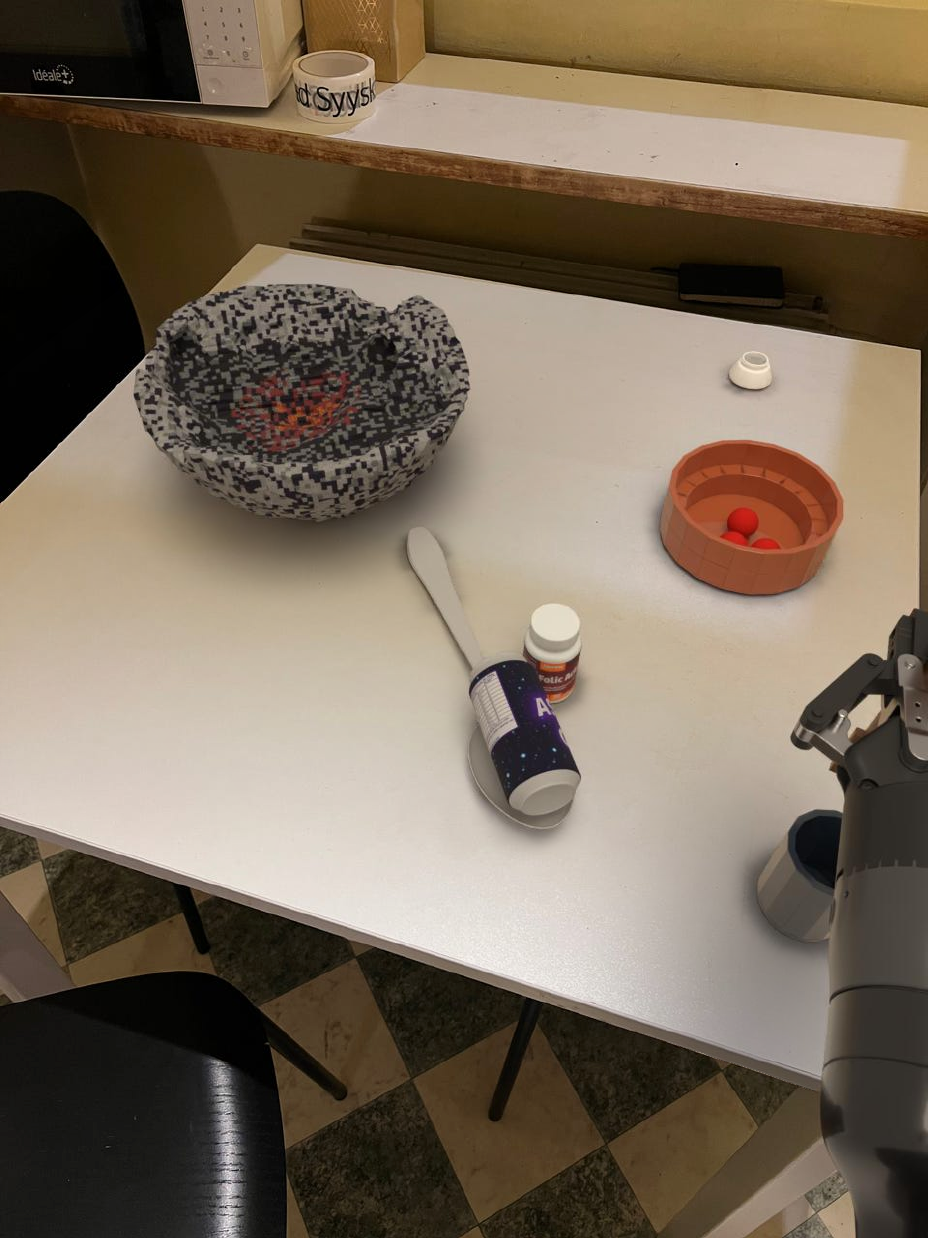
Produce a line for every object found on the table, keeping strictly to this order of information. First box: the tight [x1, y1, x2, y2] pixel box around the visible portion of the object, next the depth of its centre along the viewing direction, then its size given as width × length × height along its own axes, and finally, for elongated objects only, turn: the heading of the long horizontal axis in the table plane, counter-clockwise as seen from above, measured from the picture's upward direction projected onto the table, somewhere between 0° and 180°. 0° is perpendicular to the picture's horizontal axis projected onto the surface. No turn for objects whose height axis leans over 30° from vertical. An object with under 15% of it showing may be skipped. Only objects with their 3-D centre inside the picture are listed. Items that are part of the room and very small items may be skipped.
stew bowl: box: [658, 439, 844, 596], centre depth 85 cm, size 16×16×6 cm
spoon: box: [406, 526, 576, 830], centre depth 76 cm, size 35×8×3 cm, turn 19°
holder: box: [756, 808, 843, 943], centre depth 60 cm, size 6×6×8 cm
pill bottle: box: [522, 602, 583, 704], centre depth 72 cm, size 5×5×8 cm
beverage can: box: [468, 651, 582, 815], centre depth 66 cm, size 6×6×12 cm
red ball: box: [727, 508, 759, 538], centre depth 86 cm, size 3×3×3 cm
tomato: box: [720, 531, 748, 546], centre depth 83 cm, size 3×3×3 cm
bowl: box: [133, 283, 471, 523], centre depth 87 cm, size 31×31×15 cm
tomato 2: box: [750, 538, 781, 550], centre depth 83 cm, size 3×3×3 cm
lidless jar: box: [728, 350, 774, 390], centre depth 103 cm, size 5×3×5 cm
